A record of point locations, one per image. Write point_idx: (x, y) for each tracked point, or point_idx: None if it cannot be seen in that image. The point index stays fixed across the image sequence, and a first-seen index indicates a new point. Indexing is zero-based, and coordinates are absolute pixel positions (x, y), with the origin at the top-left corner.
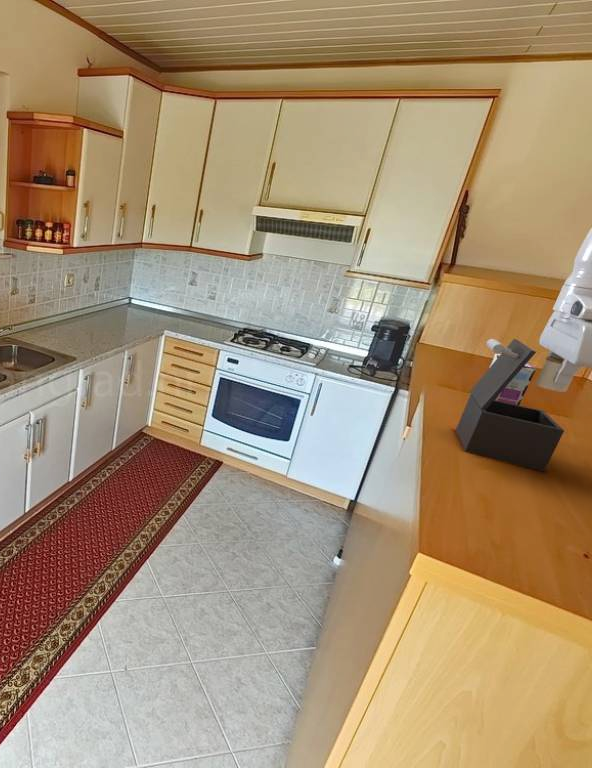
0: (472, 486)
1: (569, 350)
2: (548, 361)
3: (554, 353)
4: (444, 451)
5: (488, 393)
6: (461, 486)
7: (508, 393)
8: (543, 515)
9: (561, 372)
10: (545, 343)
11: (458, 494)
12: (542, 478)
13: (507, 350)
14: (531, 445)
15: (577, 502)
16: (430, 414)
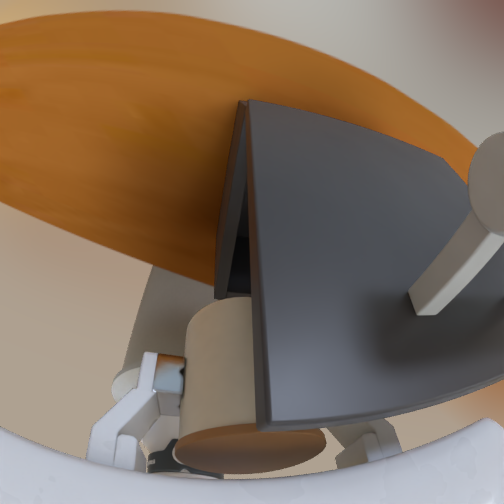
0: (45, 79)
1: (17, 492)
2: (238, 419)
3: (359, 457)
4: (204, 49)
5: (304, 129)
6: (36, 63)
7: None
8: (17, 168)
9: (126, 397)
10: (442, 458)
11: (10, 61)
12: (175, 220)
13: (474, 253)
14: (220, 226)
15: (101, 238)
16: (450, 126)
